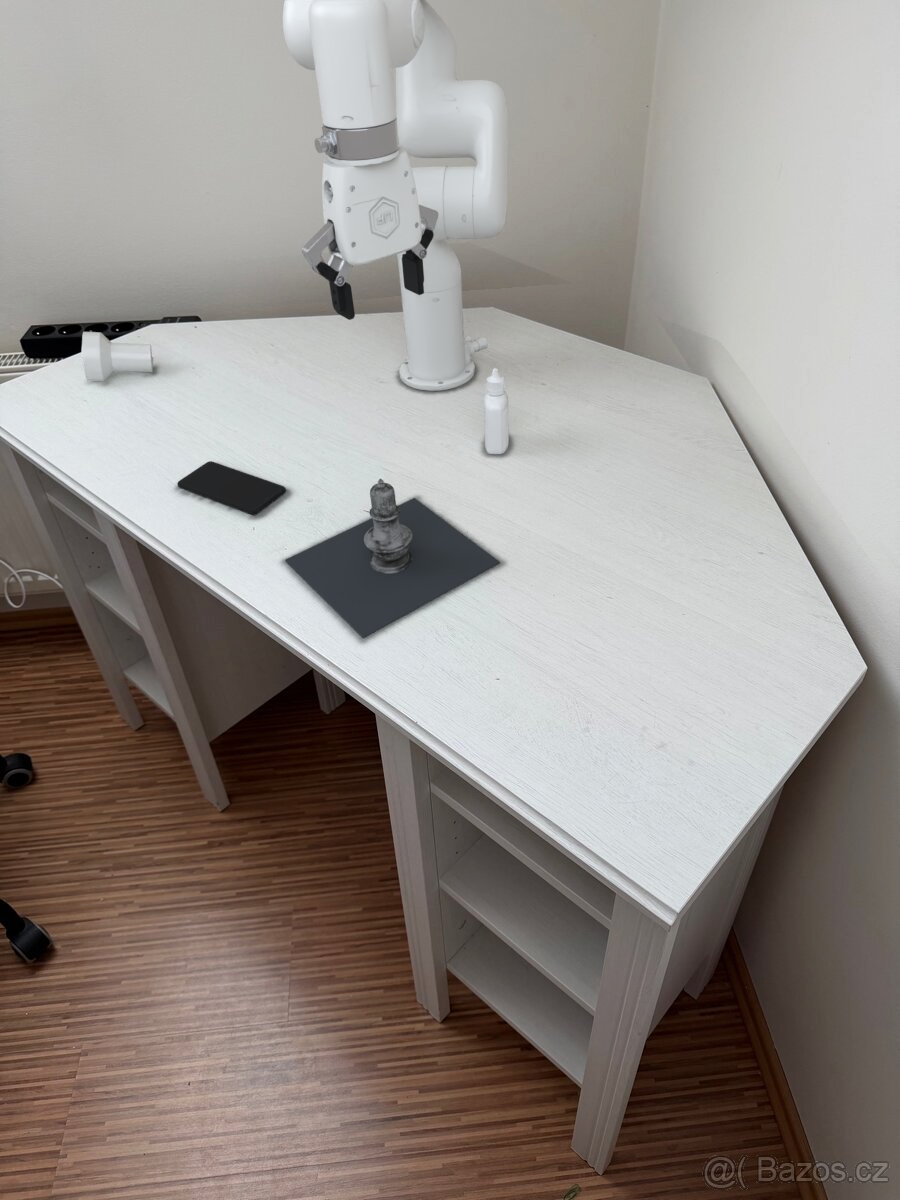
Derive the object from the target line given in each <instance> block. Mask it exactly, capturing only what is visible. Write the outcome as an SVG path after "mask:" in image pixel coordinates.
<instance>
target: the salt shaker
mask: <svg viewBox="0 0 900 1200" xmlns="http://www.w3.org/2000/svg"><path fill="white" fill-rule="evenodd" d="M369 497H370V498H369V499H370V502H371V503H370V504H371V508H370V509H369V516H370V519H371V518H373V523H374V527H372V528H371V529H370V530H368V531H367V533H366V534H365V537H364V543H365V545H366V546H367V547H368V549H369V551H370V552H371V553H372V556H371V557H370V565H371V567H372V568H373V569H374V570H376V571H378V572H380V573H385V574H392V573H397V572H400V571H403V570H404V569H406V568H407V567H408V566H409V565H410V564H411V562H412V554H411V553H410V551H409V550H408V549H409V546H410V542H411V540H412V532H411V530H410V529H409V528H408V527H406V526H405V525H402V524H400V523H399V519H398V515H399V513H400V508H399V507H398V505H397V500H396V492H395V488H394V486H393V485H392V484H390V483H387V482H385V481H384V479H382V478H379V479H378V480H377V483H375V484H373V485H372V487H371V488H370V490H369Z"/></svg>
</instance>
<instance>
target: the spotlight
mask: <svg viewBox="0 0 900 1200" xmlns="http://www.w3.org/2000/svg"><path fill="white" fill-rule="evenodd" d="M81 336H82V337H81V339H82V340H81V350H80V351H81V353H80V354H81V362H82V366H83V369H84V374H85V378H86V381H91V382H92V381H96V382H97V381H98V382H99V381H100V382H105V381H106V380H107V379H108V378H109V377H110V376H111V374H113V373H114V372H124V373H125V372H126V373H129V372H130V373H153V372H154V371H153V369H154V357H153V349H152V344H151V343H128V342H127V343H125V342H124V343H123V342H112V341H111V340H110V339H109V338H108V337H106V335H104V334H103V333H102V332H98V331H97V332H96V331H83V332H82V335H81Z"/></svg>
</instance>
